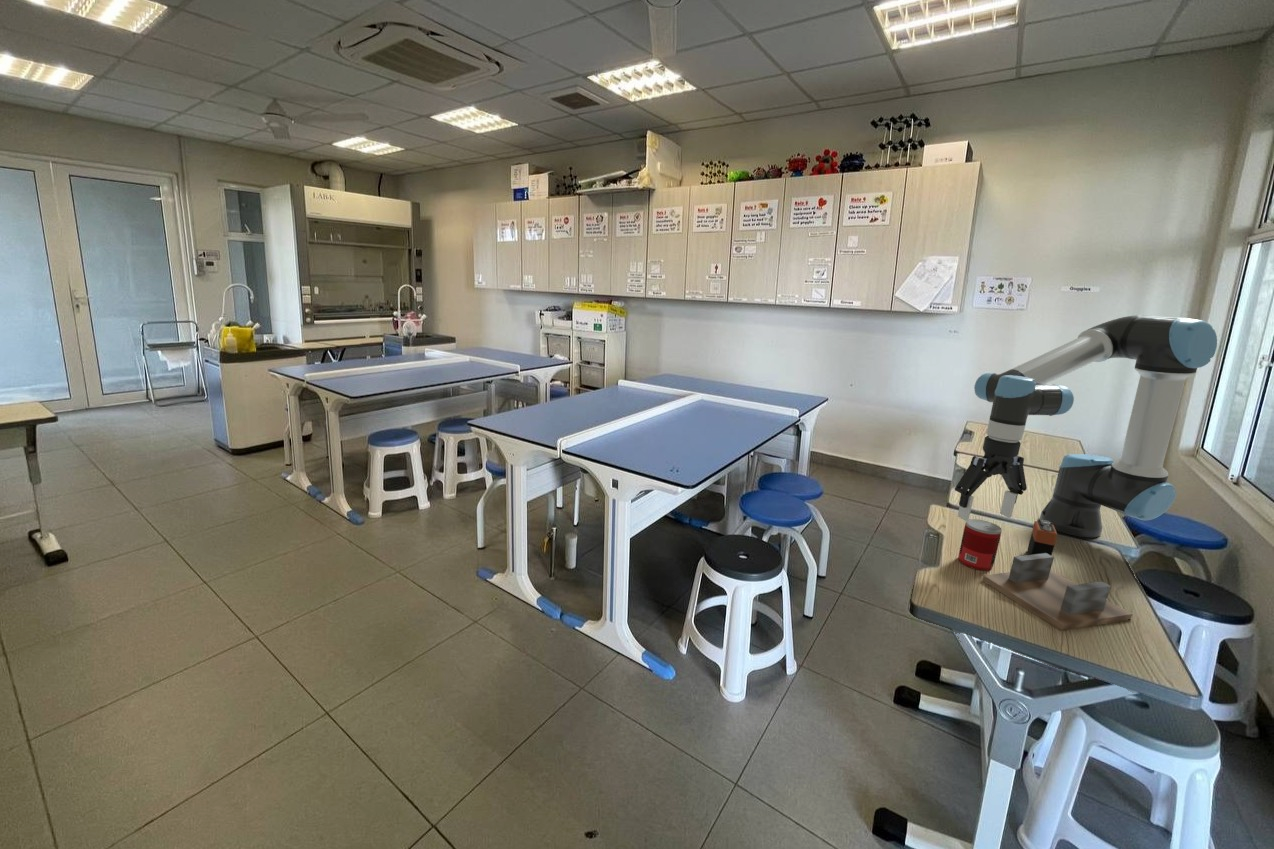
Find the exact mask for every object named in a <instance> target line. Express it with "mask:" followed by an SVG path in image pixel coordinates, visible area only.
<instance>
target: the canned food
mask: <svg viewBox="0 0 1274 849" xmlns="http://www.w3.org/2000/svg"><path fill="white" fill-rule="evenodd" d="M1001 536H1002V528H1001V526H999V525H998V524H995V523H993V522H991V521H987V520H984V519H979V518H978V519H976V518H971V519H970V518H969V520H968V521H965V525H964V528H963V533H962V537H961V542H960V547H959V552H958V561H959V562H960V563H961V564H963V565H964V566H966V567H968V568H971V569H974V570H977V571H989V570H992V568H993V567H994V564H995V560H996V557H997V552H998V548H999V545H1000V540H1001Z"/></svg>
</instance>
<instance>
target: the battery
mask: <svg viewBox="0 0 1274 849" xmlns="http://www.w3.org/2000/svg"><path fill="white" fill-rule="evenodd" d="M1057 532H1058V531H1056V530H1055V528H1054V525H1052V524H1050V522H1049V521H1046V520H1042V521H1041V522H1040V521H1034V523H1033V527H1032V531H1031V535H1030V538H1029V543H1028V545H1027V553H1028V555H1034V554H1043V553H1047V554H1049V555H1051V556H1053V552H1054V549H1055V546H1056V541H1057V538H1058V533H1057Z"/></svg>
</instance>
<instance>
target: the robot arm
mask: <svg viewBox="0 0 1274 849" xmlns="http://www.w3.org/2000/svg"><path fill="white" fill-rule="evenodd" d="M1217 348H1218V336H1217V332H1216V330H1215V329H1214V328H1213V326H1212V325H1211V324H1210V323H1209V322H1207V321H1205V320H1201V319H1197V318H1196V319H1195V318H1189V317H1177V316H1172V317H1171V316H1153V315H1144V314H1143V315H1140V314H1139V315H1138V314H1137V315H1128V316H1123V317H1118V318H1116V319H1112V320H1108V321H1106V322H1105V321H1104V322H1102V323H1100V324H1097V325H1095V326H1092V327H1091V328H1088V329H1086V330H1084V331H1082V332H1080V334H1079V335H1078V336H1077V338H1075V339H1073V340H1071V341H1068V342H1066V343H1065V344H1062V345H1060V346H1058V347H1056V348H1054V349H1051V350H1048V352H1045V353H1043V354H1041V355H1039V356H1036V357H1034V358H1032V359H1030V360H1028V361H1026V362H1024V363H1021V364H1018V365H1017V366H1015V367H1013V368H1009V369H1008V370H1006V371H1004V372H1001V373H999V374H998V373H996V372H994V373H993V372H992V373H991V372H987V373H984V374H981V375H980V376H979V377H978V378H977V379H976V381H975V384H974V385H973V386H974V388H973V389H974V394H975V395H976V397H977V398H978V399H981V400H983V401H987V402H988V403H992V406H991V411H990V415H989V420H988V425H987V429H986V436H985V437H984V440H983V444H982V450H983V452H984V455H983V456H982V457H979V456H977V455H974V456H972V458H971V462H970V464H969V465H968V467H967V469H966V470H965V472H964V473H963V475H962V476H961V478H960V479H959V481H958V483H957V484H956V486H955V488H954V491H955V492H957V493H960V496H959V502H958V508H959V509H958V511H957V512H958V513H957V517H958V518H960V519H961V520H963V521H965V522H966V521H968V520H969V519H970V516H971V512H972V507H973V504H974V503H973V502H974V498H975V496H972V495H973V494H974V493H975V492H976V491H978V489H979V487H981V485H983V484H984V482H985V481H986V480H987V479H988V478H991V477H993V476H997V475H1000V476H1002V479H1003V481H1004V483H1005V485H1006V487H1007V490H1006V489H1005V491H1004V495H1003V500H1002V503H1001V507H1000V511H999V514H1000V515H1002V516H1004V517H1007V518H1009V519H1010V518H1012V515H1013V512H1014V507H1015V505H1016V503H1017V498H1018V495H1023V494H1024V492H1025V491H1027V488H1028V487H1027V481H1026V480H1027V479H1026V476H1025V469H1024V463H1025V462H1024V461H1025V458H1024V457H1023V456H1019V453H1020V448H1021V442H1020V441H1021V440H1023V437H1024V434H1025V433H1024V432H1025V429H1026V424H1027V420H1028V416H1049V417H1052V416H1060V415H1063V414H1066V413H1067V412H1068V411H1070V410H1071V408H1072V407H1073V405H1074V401H1075V400H1074V399H1075V398H1074V393H1073V392H1072V390H1071V389H1070V388H1069V387H1067V386H1065V385H1062V384H1061V385H1059V384H1055V383H1052V382H1053V381H1055V380H1057V379H1059V378H1061V377H1063V376H1066V375H1068V374H1071V373H1072V372H1074V371H1076V370H1079V369H1081V368H1083V367H1085V366H1087V365H1089V364H1092V363H1101V362H1102V363H1103V362H1105V361H1107V360H1109V359H1114V358H1115V359H1116V358H1117V359H1119V358H1122V359H1129V360H1135V365H1134V369H1135V371H1136V372H1137V373H1138V374H1139V375H1140V376H1139V379H1138V384H1137V388H1136V393H1135V396H1134V401H1133V405H1132V410H1131V412H1130V417H1129V420H1128V421H1129V422H1128V426H1127V430H1126V435H1125V438H1124V443H1123V446H1122V450H1121V455H1120V459H1118V460H1116V461H1114V459H1113V458H1111V457H1106V456H1102V455H1096V454H1090V453H1089V454H1086V453H1069V454H1066V455H1064V456H1063V458H1062V460H1061V462H1060V465H1059V467H1058V468H1059V469H1058V472H1057V473H1058V474H1057V478H1056V480H1055V481H1056V482H1055V486H1054V489H1053V494H1052V496H1051V498H1050V500H1049V502H1048V503H1047V504H1046V505H1045V506H1044V508H1043V509H1042V511H1041V513H1040V515H1039V522H1041V521H1042V520H1046V521H1049V522H1050V524H1052V525H1054V528H1055V530H1056V532H1059V533H1062V534H1066V535H1071V536H1074V537H1081V538H1098V537H1100V536H1101V535H1102V531H1103V523H1102V514H1101V507H1102V506H1103V507H1105V508H1108V509H1110V510H1112V511H1116V512H1118V513H1121V514H1122V515H1125V516H1126V517H1131V518H1135V519H1138V520H1140V521H1151V520H1154V519H1156V518H1159V517H1160V516H1162V515H1163V514H1165V513H1166V512H1167V511H1168V510H1169V509H1170V508H1171V506H1172V505H1173V503H1174V501H1175V499H1176V495H1177V491H1176V487H1175V486H1174V485H1173V484H1172V483H1170V482H1168V479H1169V471H1167V470H1166V468H1164V467H1163V466H1164V463H1165V458H1166V455H1167V450H1168V447H1169V443H1170V439H1171V437H1172V436H1171V435H1172V432H1173V429H1174V425H1175V421H1176V417H1177V414H1178V413H1177V412H1178V410H1179V407H1180V406H1179V405H1180V402H1181V399H1182V398H1181V397H1182V395H1183V390H1184V386H1185V383H1186V380H1187V379H1188V378H1190V377H1192V376H1194V375H1195V374H1196V373H1197V369H1198V368H1202V367H1205V366H1206V365H1208V364H1209V363H1210V362H1211V359H1213V358H1214V356H1215V354H1216V351H1217ZM1049 383H1051V384H1049Z"/></svg>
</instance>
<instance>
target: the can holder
mask: <svg viewBox="0 0 1274 849" xmlns="http://www.w3.org/2000/svg"><path fill="white" fill-rule="evenodd" d="M1054 559H1055V557H1054V556H1053V555H1052V556H1051V555H1049V554H1047V553H1043V554H1034V555H1029V554H1028V555H1027V554H1026V555H1025V554H1024V555H1017V556H1016V555H1015V556H1013V558H1012V563H1011V564H1012V565H1011V568H1010V571H1008V572H1001V573H1000V572H998V573H991V574H984V575H982V580H981V581H982V582H983V583H985V584H987V585H988V586H990V587H991V588H992V589H994V590H997V591H998V592H999V593H1001V594H1002V595H1004V596H1005V597H1007V598H1009V599H1010V600H1012V601H1013V602H1015V603H1016V604H1018V605H1020V606H1022V607H1023V608H1025V609H1026V610H1028V611H1029V612H1030V613H1032V614H1034V615H1035V616H1037V617H1038V618H1040V619H1042V620H1043V621H1045V622H1047V623H1048V624H1049V625H1051V626H1053V627H1055V628H1056V629H1058V630H1060V631H1069V630H1075V629H1081V628H1082V629H1083V628H1087V627H1093V626H1099V625H1106V624H1112V623H1120V622H1124V620H1126V621H1129V620H1128V619H1131V620H1132V617H1133V613H1132V612H1129V611H1128V610H1126V609H1124V608H1123V607H1120V606H1119V605H1117V604H1115V603H1113V602H1111V601H1110V600H1108V597H1109V593H1110V590H1111V587H1112V586H1111V585H1110V584H1108V583H1106V582H1105V581H1095V582H1092V581H1091V582H1088V583H1087V582H1086V583H1079V584H1078V583H1075V582H1074V581H1072V580H1070V579H1068V578H1066V577H1064V576H1062V575H1061V574H1059V573H1058V572H1056V571H1054V570H1051V569H1052V567H1053V562H1054ZM1119 621H1120V622H1119Z"/></svg>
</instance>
